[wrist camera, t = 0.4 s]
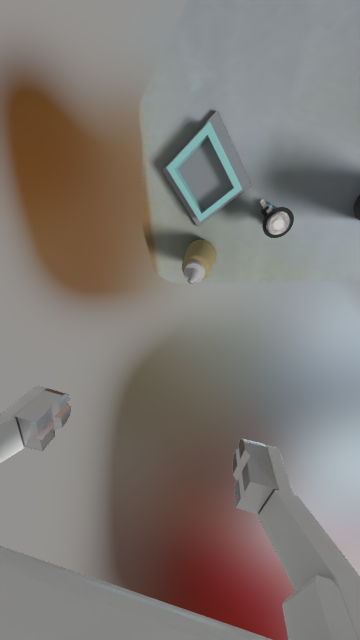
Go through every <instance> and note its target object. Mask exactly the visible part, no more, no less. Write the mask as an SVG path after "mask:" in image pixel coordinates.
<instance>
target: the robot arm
mask: <svg viewBox="0 0 360 640" xmlns="http://www.w3.org/2000/svg"><path fill="white" fill-rule="evenodd" d="M69 399H70V398H69V394H66V393H62V392H59V391H55V390H52V389H48V388H45V387H41V386H36V387H34V388H32V389H31V390H30V391H29V392H27V393H26V394H25V395H24V396H22V397H21V398H20V399H19V400H18V401H16V402H15V403H14V404H12V405H11V406H10V407H9V408H7V409H6V410H5V411H4V412H3V413H0V463H1V462H2V461H4V460H6V459H7V458H9V457H10V456H12V455H14V454H15V453H17V452H18V451H20V450H21V449H23V448H24V447H27V448H31V449H35V450H39V451H43V450H44V449H45V448H46V447H47V445H48V444H49V443H50V442H51V440H52V439H53V438H54V437H55V431H56V430H58V429H60V428H62V427H63V426H64V424H65V423H66V422H67V420H68V418H69V416H70V412H71V406H70V405H69V404H68V401H69ZM233 475H234V477H235V479H236V480H237V482H236V485H235V487H234V490H235V501H236V508H239V509H242V510H245V511H248V512H251V513H254V514H257V515H258V517H259V520H260V522H261V523H262V526H263V528H264V530H265V532H266V534H267V536H268V538H269V540H270V542H271V543H272V546H273V547H274V549H275V552H276V553H277V555H278V557H279V559H280V562H281V564H282V565H283V567H284V570H285V572H286V574H287V576H288V578H289V580H290V582H291V584H292V586H293V588H294V590H295V593H294V594H293V595H291V596H290V597H289V598H288V599H286V600H285V602H284V604H283V605H282V607H283V612H284V618H285V623H286V629H287V634H288V639H289V640H360V576H359V575H358V573H357V572H356V571H355V569H354V568H353V567H352V566H351V564H350V563H349V562H348V560H347V559H346V558H345V556H344V555H343V554H342V553H341V551H340V550H339V549H338V547H337V546H336V545H335V543H334V542H333V541H332V540H331V538H330V537H329V536H328V534H327V533H326V532H325V530H324V529H323V528H322V527H321V525H320V524H319V523H318V521H317V520H316V519H315V517H314V516H313V515H312V514H311V512H310V511H309V510H308V508H307V507H306V506H305V504H304V503H303V502H302V501H301V499H300V498H299V497H298V496H296V495H294V493H293V490H292V487H291V484H290V481H289V478H288V475H287V472H286V469H285V466H284V463H283V460H282V457H281V454H280V451H279V449H278V448H276V447H272V446H268V445H264V444H262V443H258V442H254V441H249V440H245V439H241V440H240V441H239V449H237V450H236V451H235V453H234V457H233ZM0 640H271V639H268V638H266V637H263V636H260V635H257V634H254V633H251V632H249V631H246V630H243V629H240V628H237V627H234V626H231V625H228V624H225V623H222V622H220V621H217V620H214V619H211V618H208V617H205V616H202V615H199V614H196V613H193V612H191V611H188V610H185V609H182V608H179V607H176V606H173V605H170V604H167V603H165V602H161V601H159V600H156V599H153V598H150V597H147V596H144V595H141V594H138V593H135V592H133V591H130V590H127V589H124V588H121V587H118V586H115V585H112V584H109V583H107V582H104V581H101V580H98V579H95V578H92V577H89V576H86V575H83V574H80V573H78V572H74V571H72V570H69V569H66V568H63V567H60V566H57V565H54V564H52V563H49V562H45V561H43V560H40V559H37V558H34V557H31V556H28V555H25V554H23V553H19V552H17V551H13V550H11V549H8V548H5V547H2V546H0Z"/></svg>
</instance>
